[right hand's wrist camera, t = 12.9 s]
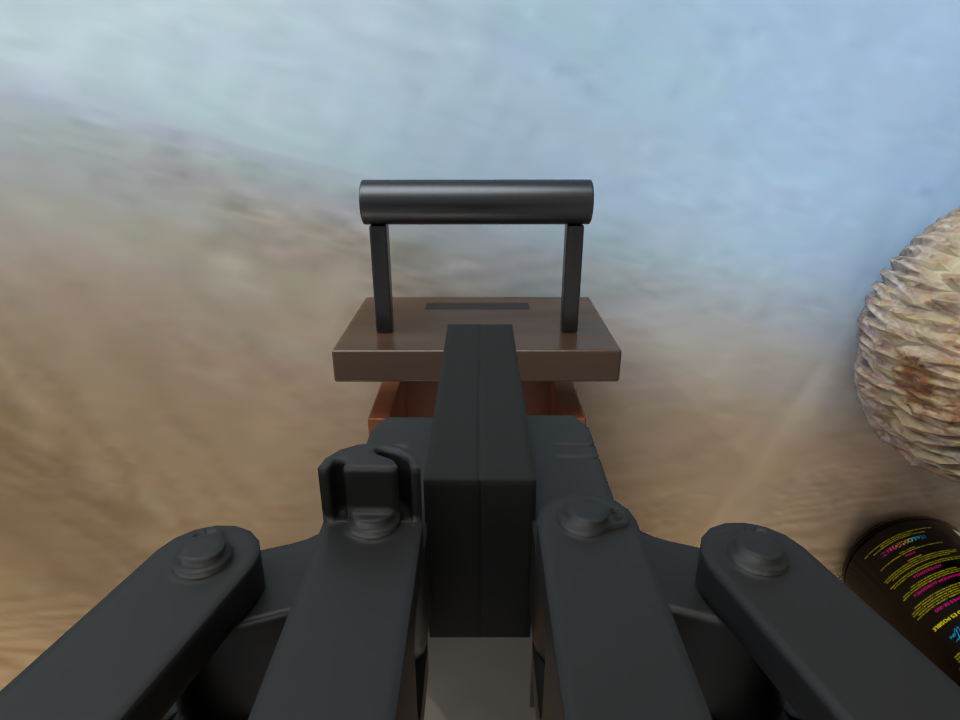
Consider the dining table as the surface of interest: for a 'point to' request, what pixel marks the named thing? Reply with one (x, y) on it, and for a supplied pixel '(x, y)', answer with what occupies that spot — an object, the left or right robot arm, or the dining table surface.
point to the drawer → (475, 300)
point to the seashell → (915, 351)
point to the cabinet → (479, 678)
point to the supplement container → (912, 583)
